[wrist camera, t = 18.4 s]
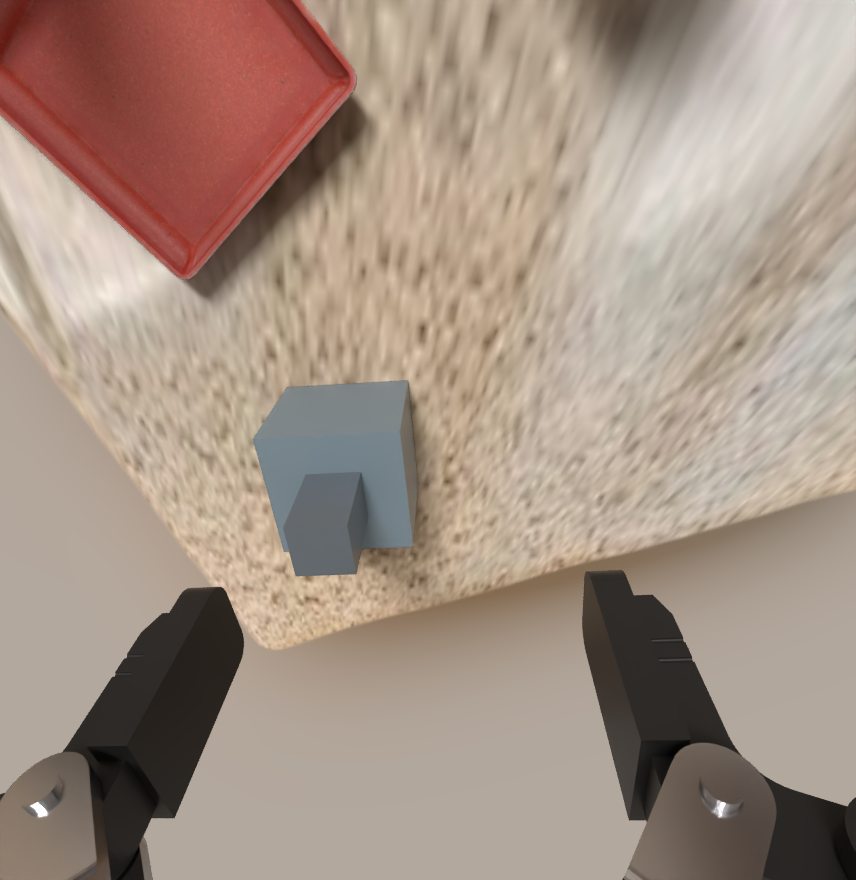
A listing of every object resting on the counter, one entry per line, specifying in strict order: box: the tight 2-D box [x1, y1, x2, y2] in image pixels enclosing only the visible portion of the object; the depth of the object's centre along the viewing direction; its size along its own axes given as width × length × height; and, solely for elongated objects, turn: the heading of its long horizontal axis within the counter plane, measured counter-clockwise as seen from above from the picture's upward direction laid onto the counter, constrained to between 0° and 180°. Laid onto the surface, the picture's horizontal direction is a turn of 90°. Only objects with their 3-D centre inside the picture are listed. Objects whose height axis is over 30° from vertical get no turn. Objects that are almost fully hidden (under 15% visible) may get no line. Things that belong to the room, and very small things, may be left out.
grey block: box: [253, 380, 418, 576], centre depth 39 cm, size 10×10×15 cm
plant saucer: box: [0, 0, 357, 279], centre depth 32 cm, size 18×18×3 cm
